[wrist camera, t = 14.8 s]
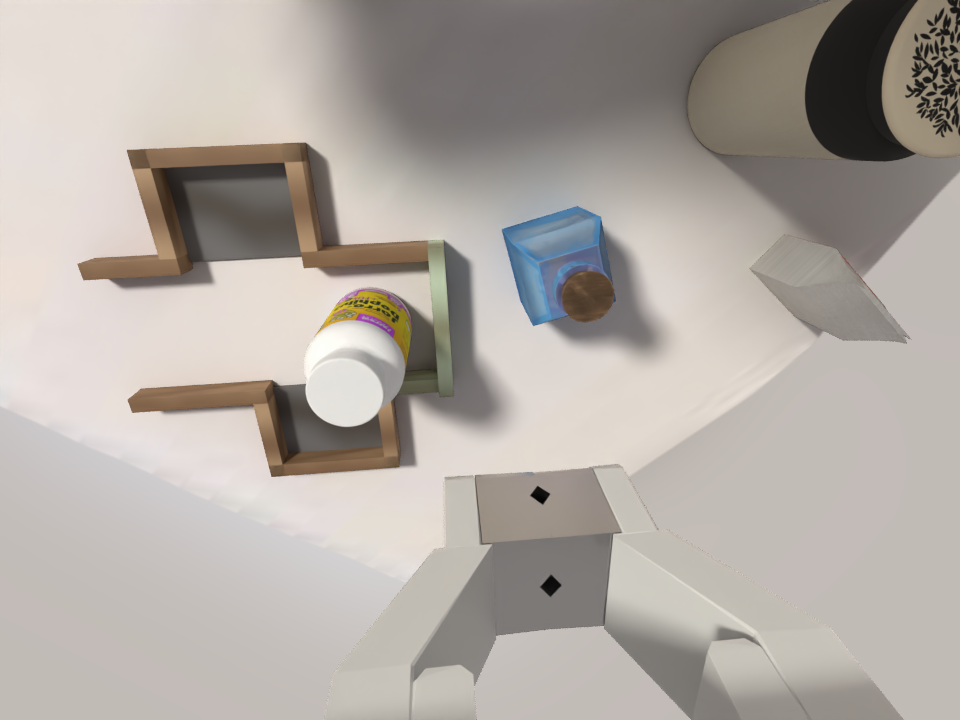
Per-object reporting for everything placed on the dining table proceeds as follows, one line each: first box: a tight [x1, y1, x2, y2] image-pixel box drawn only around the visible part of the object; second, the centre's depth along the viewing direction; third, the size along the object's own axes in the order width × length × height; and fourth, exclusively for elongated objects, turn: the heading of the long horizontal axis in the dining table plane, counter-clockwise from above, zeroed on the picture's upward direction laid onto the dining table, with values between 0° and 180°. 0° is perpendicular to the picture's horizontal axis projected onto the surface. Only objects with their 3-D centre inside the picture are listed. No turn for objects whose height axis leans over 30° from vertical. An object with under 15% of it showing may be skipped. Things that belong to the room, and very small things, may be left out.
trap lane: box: [78, 143, 454, 477], centre depth 40 cm, size 27×27×3 cm
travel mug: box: [688, 0, 960, 161], centre depth 28 cm, size 8×8×18 cm
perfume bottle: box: [502, 206, 616, 326], centre depth 35 cm, size 6×6×12 cm
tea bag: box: [749, 235, 910, 343], centre depth 38 cm, size 4×7×10 cm, turn 49°
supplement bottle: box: [304, 287, 412, 427], centre depth 36 cm, size 7×7×13 cm
